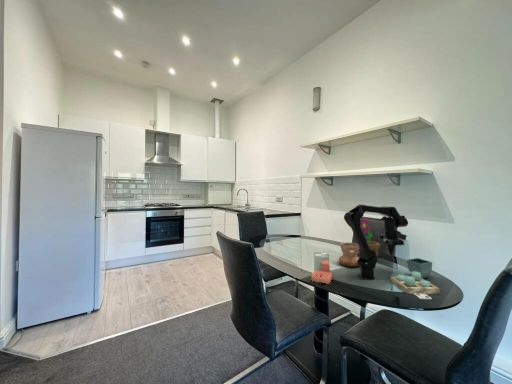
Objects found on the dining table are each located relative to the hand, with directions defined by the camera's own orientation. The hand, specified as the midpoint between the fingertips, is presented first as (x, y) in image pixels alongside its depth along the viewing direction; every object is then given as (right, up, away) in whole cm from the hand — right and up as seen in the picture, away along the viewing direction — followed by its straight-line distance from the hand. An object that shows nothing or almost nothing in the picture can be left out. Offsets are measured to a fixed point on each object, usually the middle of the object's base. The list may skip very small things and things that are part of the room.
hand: (390, 254), depth 131 cm
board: (+1, -12, -18) cm, 22 cm away
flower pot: (+14, -12, -4) cm, 19 cm away
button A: (-3, -12, -14) cm, 19 cm away
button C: (+4, -10, -15) cm, 18 cm away
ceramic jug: (-16, -13, +20) cm, 28 cm away
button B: (-3, -10, -21) cm, 24 cm away
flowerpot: (+7, -13, +37) cm, 40 cm away
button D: (+4, -11, -22) cm, 25 cm away
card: (-2, -12, -28) cm, 31 cm away
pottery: (-41, -14, -4) cm, 43 cm away
